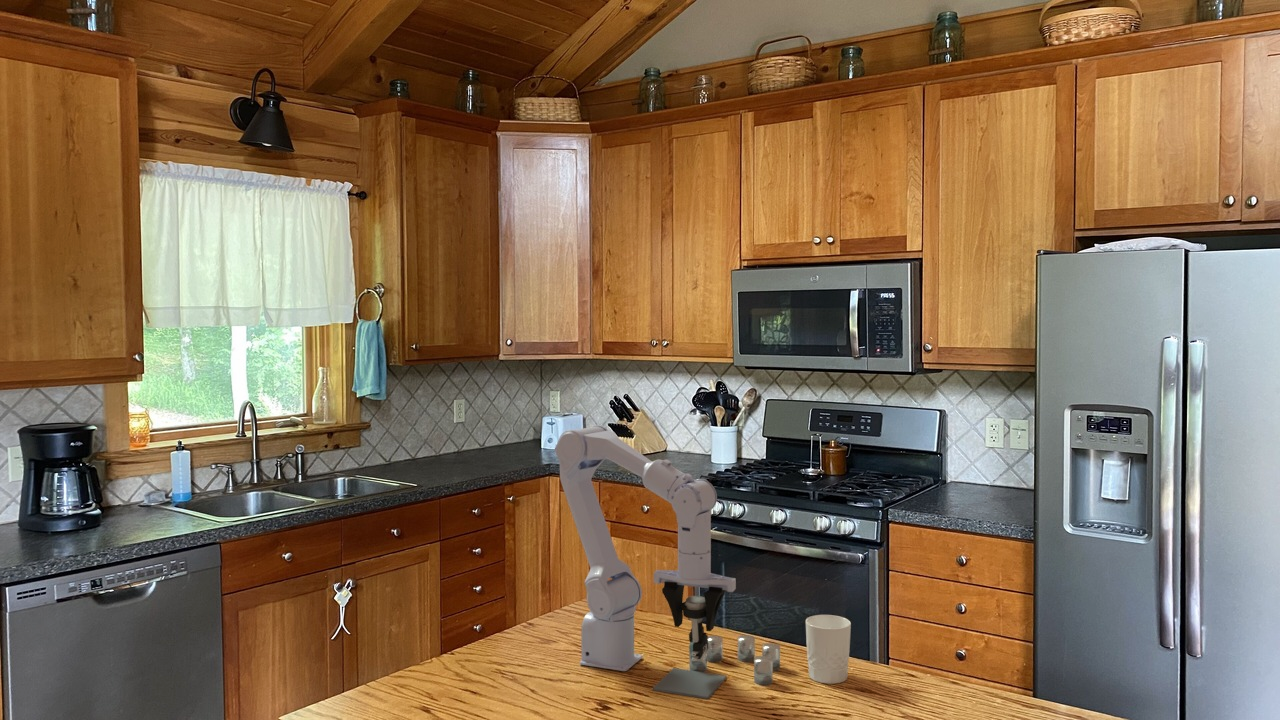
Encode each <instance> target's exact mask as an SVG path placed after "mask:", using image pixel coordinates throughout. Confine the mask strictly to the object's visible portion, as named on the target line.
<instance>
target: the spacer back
mask: <svg viewBox="0 0 1280 720" xmlns="http://www.w3.org/2000/svg"><path fill="white" fill-rule="evenodd" d="M755 643H756V637H755V636H754V635H750V634H749V635H747V634H743V635H738V637H737V660H738V661H739V662H743V663H750V662H754V658H755V657H756V655H755V654H756V650H755V649H756V644H755Z"/></svg>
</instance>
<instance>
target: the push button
mask: <svg viewBox="0 0 1280 720" xmlns="http://www.w3.org/2000/svg"><path fill="white" fill-rule="evenodd" d="M681 609H682V610H683V617H685V618H687V619H688V620H691V629H690V632H689V633H688V641H689V646H688V649H689V651H688V652H689V653H690V655H691V658H692V660H691V661H696V659H701V657H702V655H703V653H704V651H705V654H707V650H708V636H709V635H708V634H707V632H705V627H704V626H703V620H704V619H706V603H705V597H704V596H701V595H692V596H688V597H687V598H685V601H683V602H682V604H681ZM689 653H688V654H689ZM693 659H695V660H693Z"/></svg>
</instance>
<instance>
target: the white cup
mask: <svg viewBox="0 0 1280 720" xmlns="http://www.w3.org/2000/svg"><path fill="white" fill-rule="evenodd" d="M851 626H852V623H851V621H850V620H849V619H848V618H846V617H844V616H839V615H835V614H834V615H832V614H815V615H812V616H809V617H808V616H807V617H806V619H805V636H806V637H805V640H806V644H805V645H806V654H807V655H806V656H807V657H806V658H807V662H808V663H807V664H808V665H807V666H808V676H809V678H810V679H811V680H813V681H815V682H817V683H821V684H826V685H827V684H828V685H830V684H831V685H832V684H833V685H835V684H840V683H844V682H845V681H847V679H848V675H849V674H848V671H849V670H848V669H849V663H850V662H849V660H850V647H851V646H850V645H851V629H852V627H851Z"/></svg>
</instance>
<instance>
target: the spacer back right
mask: <svg viewBox="0 0 1280 720" xmlns="http://www.w3.org/2000/svg"><path fill="white" fill-rule="evenodd" d="M761 647H762V652H761V653H762V655H761V656H766V657H770V658H772V659H773V672H774V671H775V672H777V671H779V670H780V669H781V645H780V644H778V643H772V642H769V643H763V644H762V646H761Z"/></svg>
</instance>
